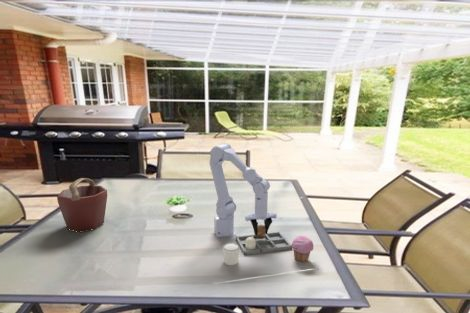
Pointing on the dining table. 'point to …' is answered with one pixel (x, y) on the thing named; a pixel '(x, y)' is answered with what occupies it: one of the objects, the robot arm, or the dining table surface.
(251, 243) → the cream egg
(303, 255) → the cupcake
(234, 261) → the white textured cylinder
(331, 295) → the dining table surface
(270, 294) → the dining table surface
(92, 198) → the bucket
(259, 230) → the brown egg
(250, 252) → the egg tray
